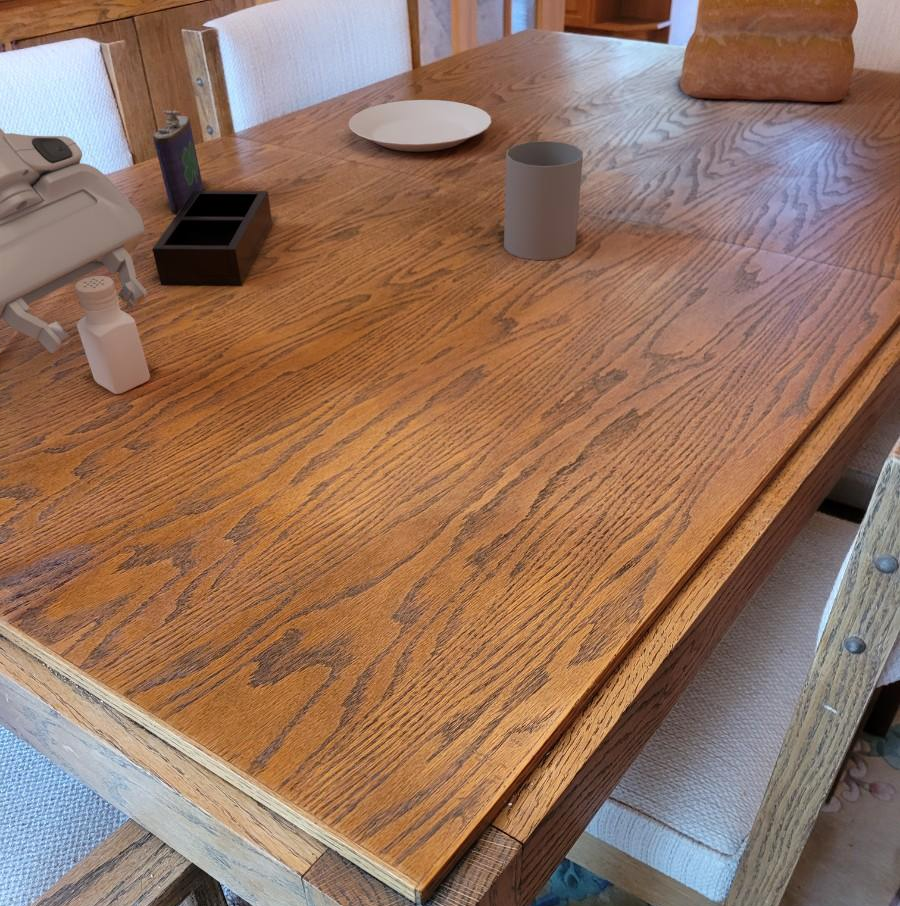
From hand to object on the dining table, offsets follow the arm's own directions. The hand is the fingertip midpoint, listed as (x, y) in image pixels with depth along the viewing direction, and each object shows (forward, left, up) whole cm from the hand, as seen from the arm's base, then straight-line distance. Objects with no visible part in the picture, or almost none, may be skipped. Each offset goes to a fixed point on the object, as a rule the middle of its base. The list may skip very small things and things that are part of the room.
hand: (102, 323), depth 79 cm
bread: (+76, +94, -6) cm, 121 cm away
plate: (+22, +71, -6) cm, 75 cm away
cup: (+39, +32, -6) cm, 51 cm away
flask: (-6, +45, -6) cm, 46 cm away
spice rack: (+2, +29, -6) cm, 30 cm away
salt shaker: (0, 0, -6) cm, 6 cm away
